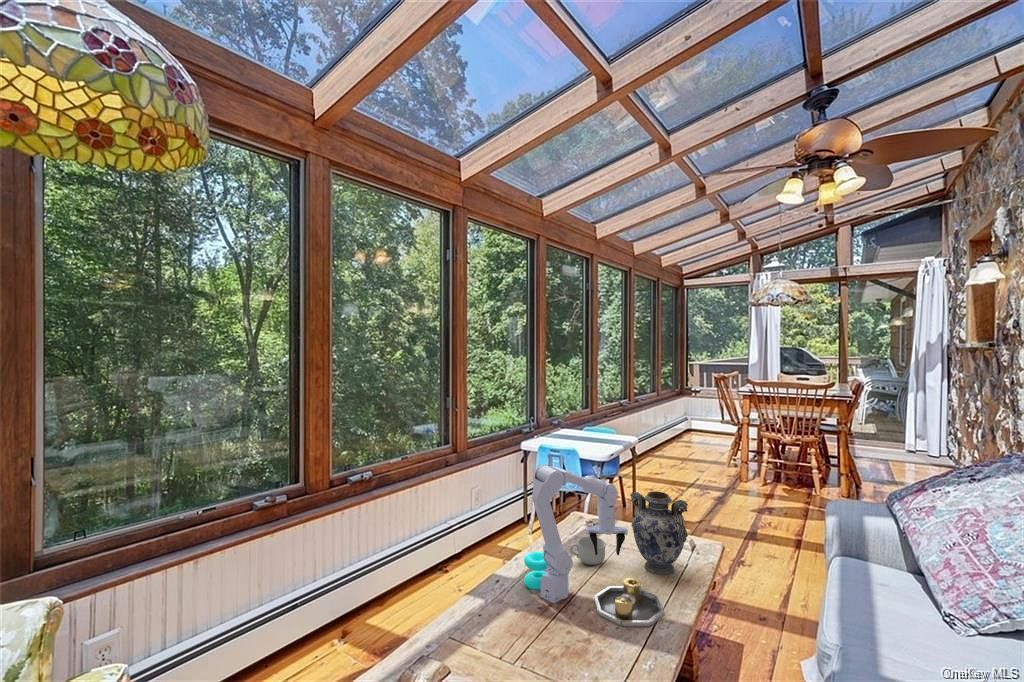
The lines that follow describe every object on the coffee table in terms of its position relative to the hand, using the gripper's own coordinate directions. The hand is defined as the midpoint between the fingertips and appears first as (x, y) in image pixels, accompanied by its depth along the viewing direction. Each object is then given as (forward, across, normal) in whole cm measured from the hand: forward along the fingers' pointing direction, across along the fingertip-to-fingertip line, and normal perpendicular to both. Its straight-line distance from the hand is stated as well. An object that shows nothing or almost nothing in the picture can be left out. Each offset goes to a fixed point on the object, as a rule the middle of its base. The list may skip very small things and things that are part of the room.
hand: (606, 553), depth 169 cm
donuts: (+10, -25, -3) cm, 27 cm away
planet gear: (+9, +6, -12) cm, 16 cm away
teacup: (+10, -5, +15) cm, 19 cm away
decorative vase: (+10, +21, +10) cm, 25 cm away
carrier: (+10, +4, -18) cm, 21 cm away
